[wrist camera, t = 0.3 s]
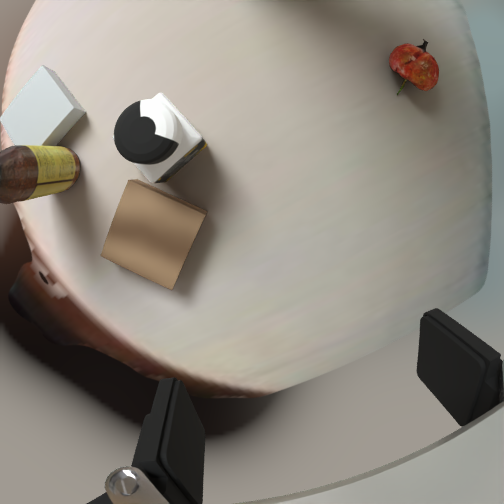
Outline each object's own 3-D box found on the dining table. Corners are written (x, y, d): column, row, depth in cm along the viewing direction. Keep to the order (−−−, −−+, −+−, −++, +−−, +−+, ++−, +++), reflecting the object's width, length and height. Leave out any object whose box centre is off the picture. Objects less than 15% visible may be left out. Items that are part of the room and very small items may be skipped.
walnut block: (138, 179, 36) (128, 179, 32) (207, 211, 38) (205, 215, 34) (111, 248, 38) (100, 255, 34) (176, 279, 40) (171, 290, 36)
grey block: (55, 72, 31) (42, 64, 27) (87, 112, 33) (73, 107, 29) (14, 121, 32) (-1, 118, 28) (42, 164, 34) (26, 164, 30)
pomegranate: (412, 102, 38) (444, 57, 31) (420, 116, 33) (458, 64, 26) (373, 75, 37) (404, 27, 30) (375, 84, 32) (412, 28, 25)
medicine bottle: (165, 183, 36) (137, 186, 25) (130, 143, 35) (91, 131, 23) (208, 145, 36) (199, 130, 24) (172, 105, 34) (149, 76, 22)
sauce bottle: (58, 140, 33) (-42, 127, 14) (89, 159, 35) (-10, 155, 15) (39, 181, 34) (-61, 194, 15) (68, 202, 36) (-31, 228, 16)
